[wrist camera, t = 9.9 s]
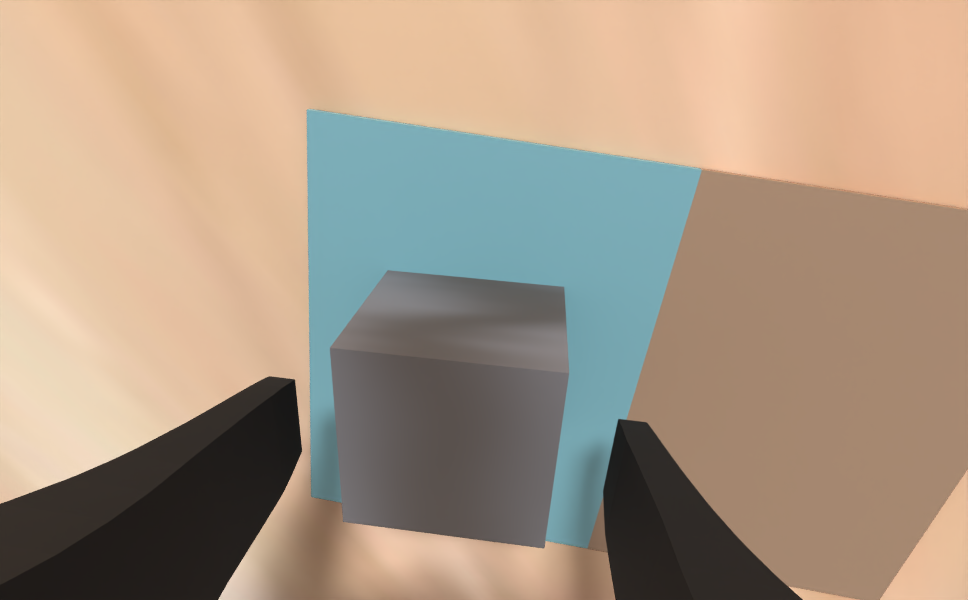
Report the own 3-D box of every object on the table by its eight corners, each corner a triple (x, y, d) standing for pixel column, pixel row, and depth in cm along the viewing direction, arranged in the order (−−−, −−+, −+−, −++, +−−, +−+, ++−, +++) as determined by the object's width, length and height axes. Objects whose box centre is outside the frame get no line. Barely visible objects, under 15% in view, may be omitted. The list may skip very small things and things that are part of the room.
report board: (1117, 231, 12) (1126, 234, 11) (873, 596, 17) (877, 602, 17) (310, 109, 12) (306, 109, 12) (313, 492, 18) (311, 497, 17)
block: (564, 286, 13) (569, 372, 10) (545, 431, 15) (544, 548, 12) (387, 270, 14) (329, 347, 10) (390, 413, 16) (343, 521, 12)
